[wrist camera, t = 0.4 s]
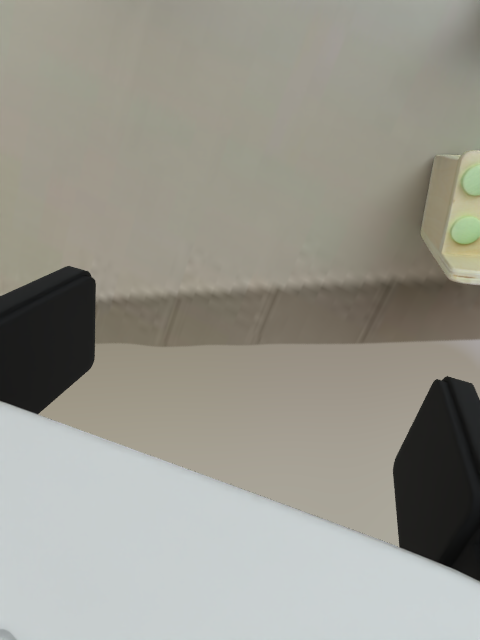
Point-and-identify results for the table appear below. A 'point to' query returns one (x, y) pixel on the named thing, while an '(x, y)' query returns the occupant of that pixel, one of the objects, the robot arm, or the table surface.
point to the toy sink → (454, 216)
